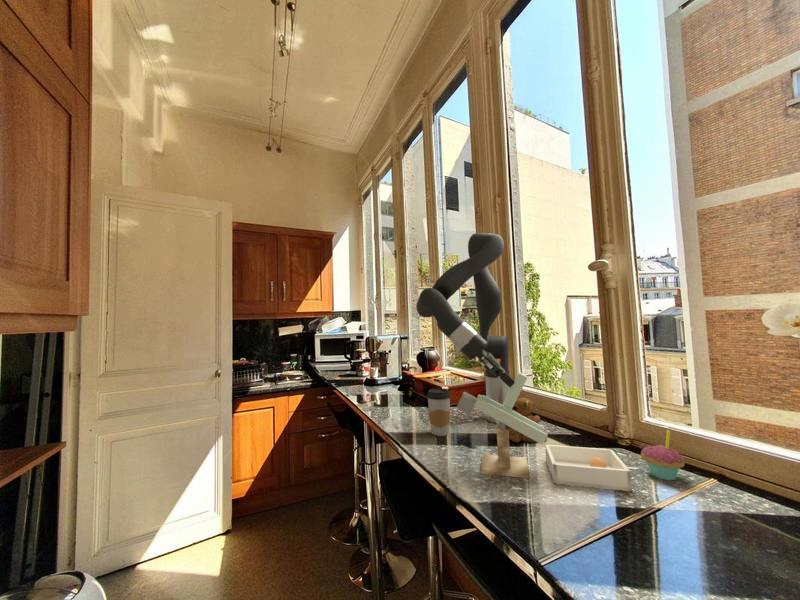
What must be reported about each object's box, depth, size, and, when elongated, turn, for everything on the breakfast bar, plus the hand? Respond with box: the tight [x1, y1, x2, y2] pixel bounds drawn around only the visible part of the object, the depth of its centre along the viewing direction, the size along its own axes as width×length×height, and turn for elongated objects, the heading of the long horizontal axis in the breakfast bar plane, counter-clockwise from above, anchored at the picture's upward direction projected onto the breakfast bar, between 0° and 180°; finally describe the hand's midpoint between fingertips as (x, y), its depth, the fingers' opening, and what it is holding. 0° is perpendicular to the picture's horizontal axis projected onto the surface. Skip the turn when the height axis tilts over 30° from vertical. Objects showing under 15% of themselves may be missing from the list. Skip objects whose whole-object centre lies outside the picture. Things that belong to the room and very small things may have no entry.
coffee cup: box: [426, 387, 451, 437], centre depth 117 cm, size 8×8×15 cm
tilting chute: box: [456, 371, 548, 445], centre depth 90 cm, size 23×10×16 cm, turn 73°
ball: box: [590, 458, 606, 468], centre depth 82 cm, size 4×4×4 cm
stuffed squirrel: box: [499, 397, 548, 444], centre depth 109 cm, size 10×14×13 cm
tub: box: [544, 444, 633, 492], centre depth 83 cm, size 16×13×4 cm
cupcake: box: [640, 427, 685, 481], centre depth 81 cm, size 9×8×12 cm
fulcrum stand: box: [480, 422, 531, 479], centre depth 89 cm, size 12×10×11 cm
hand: (512, 384), depth 93 cm, fingers closed
